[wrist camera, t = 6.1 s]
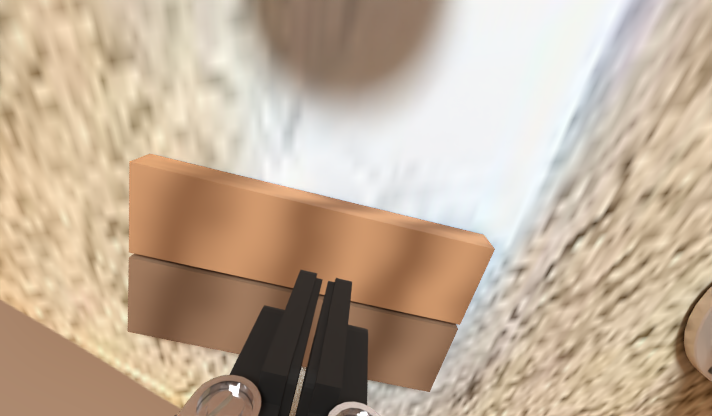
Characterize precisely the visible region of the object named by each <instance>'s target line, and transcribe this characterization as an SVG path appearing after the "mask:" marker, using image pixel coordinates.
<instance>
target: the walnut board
mask: <svg viewBox="0 0 712 416" xmlns="http://www.w3.org/2000/svg"><path fill="white" fill-rule="evenodd" d="M292 290H293V288H290V287H285V286H281V285H276V284H272V283H267V282H263V281H258V280H253V279H249V278H244V277H240V276H235V275H231V274H226V273H221V272H217V271H212V270H208V269H203V268H198V267H194V266H189V265H185V264H180V263H176V262H171V261H166V260H162V259H157V258H153V257H148V256H144V255H139V254H133V255H132V256H131V257H129V287H128V332H132V333H137V334H142V335H147V336H152V337H157V338H162V339H167V340H172V341H177V342H182V343H187V344H192V345H197V346H202V347H207V348H212V349H217V350H222V351H227V352H232V353H237V354H240V353H241V350H242V348H243V346H244V344H245V342H246V340H247V338H248V336H249V334H250V332H251V330H252V328H253V326H254V324H255V322H256V320H257V318H258V316H259V314H260V312H261V310H262V308H263V306H264V305H266V306H270V307H275V308H279V309H283V310H285V308H286V306H287V303H288V300H289V298H290V295H291V293H292ZM323 299H324V295H322V294H319V297H318V301H317V305H316V309H315V314H314V318H313V322H312V326H311V330H310V334H309V338H308V342H307V346H306V350H305V354H304V358H303V362H302V367H307V364H308V360H309V355H310V351H311V347H312V343H313V339H314V335H315V331H316V327H317V323H318V319H319V315H320V311H321V307H322V303H323ZM348 325H352V326H357V327H361V328H365V329H368V379H367V380H372V381H377V382H382V383H387V384H392V385H397V386H402V387H407V388H412V389H417V390H422V391H427V392H430V390H431V388H432V385H433V383H434V381H435V379H436V376H437V374H438V372H439V370H440V368H441V365H442V363H443V361H444V359H445V357H446V354H447V352H448V350H449V348H450V345H451V343H452V341H453V339H454V337H455V334H456V332H457V330H458V328H457V326H456V324H455V323H450V322H446V321H441V320H437V319H432V318H427V317H423V316H418V315H414V314H409V313H404V312H400V311H395V310H391V309H386V308H382V307H377V306H372V305H368V304H363V303H359V302H354V301H350V311H349V321H348Z"/></svg>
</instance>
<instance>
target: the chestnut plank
mask: <svg viewBox="0 0 712 416" xmlns="http://www.w3.org/2000/svg"><path fill="white" fill-rule="evenodd" d="M494 250H495V249H494V247H493V246H492V245H491V244H490V242H489V241H488V240H487V238H486V237H485V236H484V235H483V234H479V233H474V232H470V231H466V230H462V229H458V228H454V227H450V226H446V225H441V224H437V223H433V222H429V221H425V220H421V219H417V218H413V217H408V216H404V215H400V214H396V213H392V212H388V211H384V210H380V209H375V208H371V207H367V206H363V205H359V204H355V203H351V202H347V201H342V200H338V199H334V198H330V197H326V196H322V195H318V194H314V193H310V192H305V191H301V190H297V189H293V188H289V187H285V186H281V185H277V184H272V183H268V182H264V181H260V180H256V179H252V178H248V177H244V176H239V175H235V174H231V173H227V172H223V171H219V170H215V169H211V168H206V167H202V166H198V165H194V164H190V163H186V162H182V161H178V160H173V159H169V158H165V157H161V156H157V155H153V154H148V155H146V156H143V157H140V158H138V159H135V160H133V161H130V172H129V252H130V253H134V254H139V255H144V256H148V257H153V258H157V259H162V260H166V261H171V262H176V263H180V264H185V265H189V266H194V267H198V268H203V269H208V270H212V271H217V272H221V273H226V274H231V275H235V276H240V277H244V278H249V279H253V280H258V281H263V282H267V283H272V284H276V285H281V286H285V287H290V288H294V285H295V282H296V280H297V277H298V275H299V272H300V270H305V271H310V272H314V273H317V278H319V279H323V281H322V285H321V289H320V293H319V294H322V295H325V291H326V287H327V283H328V281H332V282H335V279H336V278H339V279H343V280H348V281H352V291H351V301H354V302H359V303H363V304H368V305H372V306H377V307H382V308H386V309H391V310H395V311H400V312H404V313H409V314H414V315H418V316H423V317H427V318H432V319H437V320H441V321H446V322H450V323H455V324H459V325H460V323H461V321H462V319H463V317H464V315H465V313H466V310H467V308H468V306H469V304H470V302H471V300H472V297H473V295H474V293H475V291H476V289H477V287H478V284H479V282H480V280H481V278H482V276H483V274H484V271H485V269H486V267H487V265H488V263H489V261H490V258H491V256H492V254H493V252H494Z"/></svg>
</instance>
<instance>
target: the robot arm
mask: <svg viewBox="0 0 712 416" xmlns="http://www.w3.org/2000/svg"><path fill="white" fill-rule="evenodd" d="M322 281H323V279H319V278H317V273H314V272H310V271H305V270H300V272H299V275H298V277H297V280H296V282H295V285H294V288H293V290H292V293H291V295H290V298H289V300H288V303H287V306H286V308H285V310H283V309H279V308H275V307H270V306H266V305H264V306H263V308H262V310H261V312H260V314H259V316H258V318H257V320H256V322H255V324H254V326H253V328H252V330H251V332H250V334H249V336H248V338H247V340H246V342H245V344H244V346H243V348H242V350H241V353H240V355H239V357H238V359H237V361H236V363H235V365H234V367H233V369H232V371H231V373H230V375H223V376H220V377H216V378H213V379H211V380H209V381H208V382H206V383H204V384H203V385H202V386H201V387H200V388H198V389H197V390H196V391H195V393H194V394H193V395H192V396H191V398H190V399H189V400H188V402H187V403H186V404H185V405H184V407H183V408H182V409H181V411H180V412H179V413H178V414H177V415H176V416H289V414H290V410H291V406H292V402H293V398H294V394H295V390H296V386H297V382H298V378H299V374H300V370H301V366H302V362H303V358H304V354H305V350H306V346H307V342H308V338H309V334H310V330H311V326H312V322H313V318H314V314H315V309H316V305H317V301H318V297H319V293H320V289H321V285H322ZM351 291H352V281H348V280H343V279H339V278H336V279H335V282H332V281H328V283H327V287H326V291H325V295H324V299H323V303H322V307H321V311H320V315H319V319H318V323H317V327H316V331H315V335H314V339H313V343H312V347H311V351H310V355H309V360H308V364H307V368H306V373H305V377H304V381H303V385H302V390H301V394H300V398H299V403H298V407H297V411H296V416H380V415H379V414H378V413H377V412H376V411H375V410H374V409H372V408H371V407H369V406H367V379H368V329H365V328H361V327H357V326H352V325H348V321H349V311H350V301H351ZM684 346H685V352H686V355H687V357H688V359H689V361H690V362H691V364H692V365H693V366H694V367H695V368H696V369H697V370H698V371H699V372H700V373H701V374H702V375H704V376H705V377H706V378H707V379H709V380H710V381H711V382H712V286H711V287H710V288H709V289H708V290H707V291H706V292H705V294H704V295H703V296H702V297H701V299H700V300H699V301H698V302H697V304H696V306H695V307H694V309H693V311H692V313H691V314H690V316H689V319H688V322H687V325H686V328H685V335H684Z"/></svg>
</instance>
